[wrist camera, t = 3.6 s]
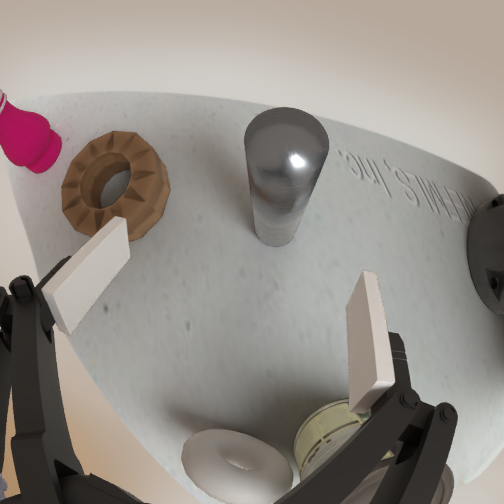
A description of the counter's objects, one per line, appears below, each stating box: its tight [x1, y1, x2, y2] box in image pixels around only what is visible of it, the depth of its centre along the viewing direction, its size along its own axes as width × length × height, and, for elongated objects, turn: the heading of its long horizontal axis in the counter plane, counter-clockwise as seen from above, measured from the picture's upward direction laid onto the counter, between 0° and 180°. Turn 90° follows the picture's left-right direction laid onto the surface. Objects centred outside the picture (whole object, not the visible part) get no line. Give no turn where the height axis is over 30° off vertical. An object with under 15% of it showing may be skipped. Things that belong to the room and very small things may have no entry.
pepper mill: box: [0, 89, 62, 173], centre depth 22 cm, size 7×7×20 cm
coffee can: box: [293, 399, 454, 504], centre depth 18 cm, size 10×10×14 cm
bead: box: [62, 131, 171, 242], centre depth 28 cm, size 11×11×4 cm
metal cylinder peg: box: [244, 107, 329, 247], centre depth 21 cm, size 4×4×16 cm
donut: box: [181, 429, 293, 504], centre depth 20 cm, size 10×3×10 cm, turn 68°
